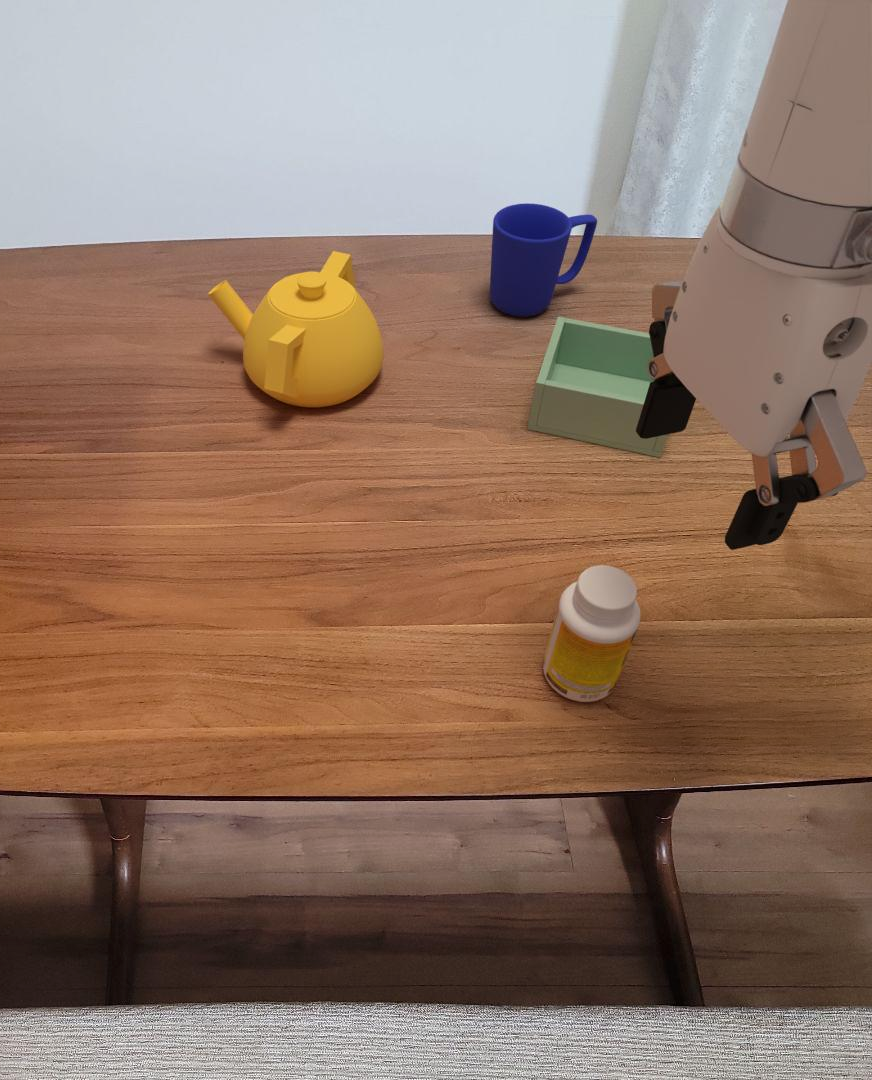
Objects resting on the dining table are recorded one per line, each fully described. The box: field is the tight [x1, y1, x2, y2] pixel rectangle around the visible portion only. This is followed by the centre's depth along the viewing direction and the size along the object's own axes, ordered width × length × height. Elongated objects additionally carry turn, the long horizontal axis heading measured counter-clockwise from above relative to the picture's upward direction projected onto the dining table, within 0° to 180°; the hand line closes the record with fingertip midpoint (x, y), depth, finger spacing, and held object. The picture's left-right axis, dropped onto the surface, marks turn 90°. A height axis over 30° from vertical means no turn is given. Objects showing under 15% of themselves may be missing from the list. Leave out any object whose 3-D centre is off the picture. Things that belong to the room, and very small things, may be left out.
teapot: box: [207, 250, 384, 408], centre depth 92 cm, size 20×18×11 cm
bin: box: [526, 316, 669, 458], centre depth 90 cm, size 13×12×6 cm
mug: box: [489, 203, 598, 318], centre depth 102 cm, size 8×12×10 cm
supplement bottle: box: [542, 564, 642, 703], centre depth 66 cm, size 6×6×10 cm
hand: (702, 483), depth 54 cm, fingers open, 9 cm apart
